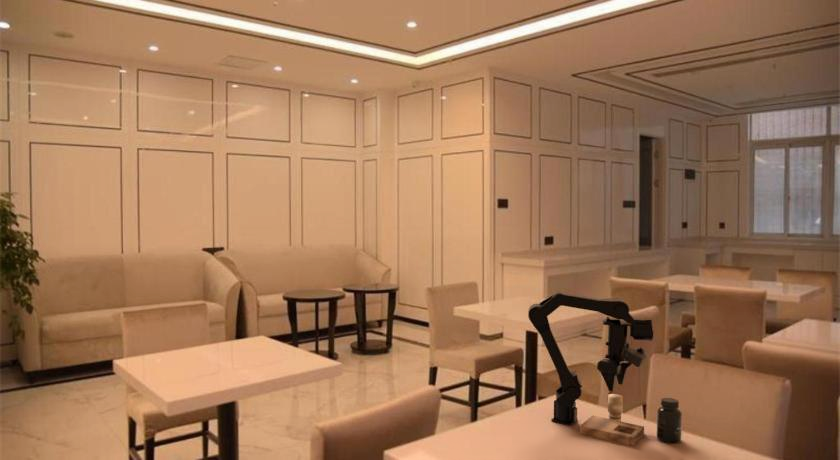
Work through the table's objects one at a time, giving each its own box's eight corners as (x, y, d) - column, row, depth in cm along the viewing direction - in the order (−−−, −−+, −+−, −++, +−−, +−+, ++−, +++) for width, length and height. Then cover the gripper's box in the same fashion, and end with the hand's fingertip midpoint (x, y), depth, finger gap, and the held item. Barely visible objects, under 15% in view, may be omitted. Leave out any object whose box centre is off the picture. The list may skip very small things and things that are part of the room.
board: (579, 433, 181) (580, 425, 181) (592, 423, 190) (592, 415, 190) (633, 446, 172) (633, 437, 172) (644, 434, 181) (644, 426, 181)
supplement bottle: (683, 445, 173) (684, 404, 173) (658, 443, 175) (659, 402, 174) (678, 436, 180) (679, 397, 179) (654, 434, 181) (655, 395, 181)
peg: (605, 424, 189) (606, 396, 189) (610, 420, 193) (610, 393, 192) (619, 427, 187) (620, 399, 186) (623, 423, 190) (624, 395, 190)
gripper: (634, 348, 176) (632, 400, 177) (652, 337, 191) (650, 385, 192) (597, 342, 183) (595, 392, 183) (617, 332, 197) (615, 379, 198)
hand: (615, 387), depth 189 cm, fingers open, 9 cm apart
